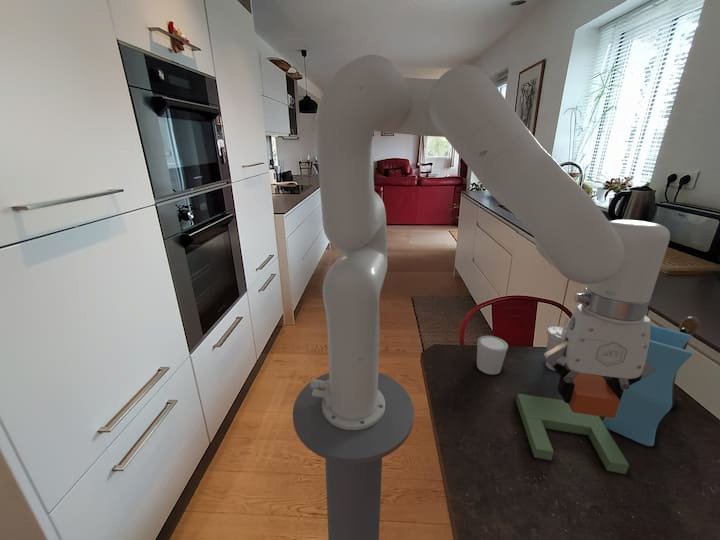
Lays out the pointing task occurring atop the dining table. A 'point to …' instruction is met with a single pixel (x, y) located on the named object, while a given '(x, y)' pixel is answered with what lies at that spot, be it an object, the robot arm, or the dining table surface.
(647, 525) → the dining table surface
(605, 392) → the orange block
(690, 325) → the wooden tabletop sculpture
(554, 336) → the smoothie
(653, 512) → the dining table surface
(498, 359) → the shot glass
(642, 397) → the vase
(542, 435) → the green flat bent piece
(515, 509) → the dining table surface
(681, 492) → the dining table surface
